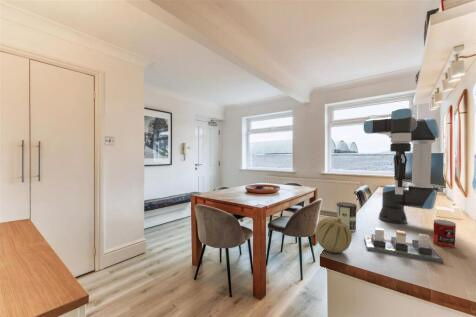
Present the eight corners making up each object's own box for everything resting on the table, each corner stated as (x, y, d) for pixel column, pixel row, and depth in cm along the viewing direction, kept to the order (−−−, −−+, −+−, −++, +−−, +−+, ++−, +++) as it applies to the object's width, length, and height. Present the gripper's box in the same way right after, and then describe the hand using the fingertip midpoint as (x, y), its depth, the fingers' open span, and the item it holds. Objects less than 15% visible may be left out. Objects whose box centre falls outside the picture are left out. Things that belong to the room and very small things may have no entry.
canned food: (438, 246, 102) (438, 223, 102) (429, 240, 110) (430, 218, 109) (459, 249, 99) (459, 225, 99) (449, 242, 107) (449, 220, 107)
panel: (364, 239, 110) (364, 221, 110) (430, 249, 99) (430, 229, 99) (367, 250, 97) (367, 230, 97) (443, 263, 86) (444, 240, 86)
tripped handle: (395, 240, 97) (396, 230, 97) (404, 242, 96) (404, 231, 96) (397, 242, 95) (397, 232, 95) (405, 244, 94) (406, 233, 94)
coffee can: (352, 226, 130) (353, 202, 130) (358, 232, 120) (359, 206, 120) (334, 224, 132) (334, 201, 132) (338, 230, 122) (339, 205, 122)
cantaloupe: (317, 241, 106) (317, 211, 106) (351, 248, 99) (352, 215, 99) (312, 253, 93) (313, 219, 93) (351, 262, 86) (352, 224, 86)
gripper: (387, 143, 108) (386, 191, 108) (393, 142, 96) (392, 195, 96) (406, 143, 104) (405, 192, 105) (415, 142, 93) (413, 197, 93)
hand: (399, 194), depth 101 cm, fingers closed
